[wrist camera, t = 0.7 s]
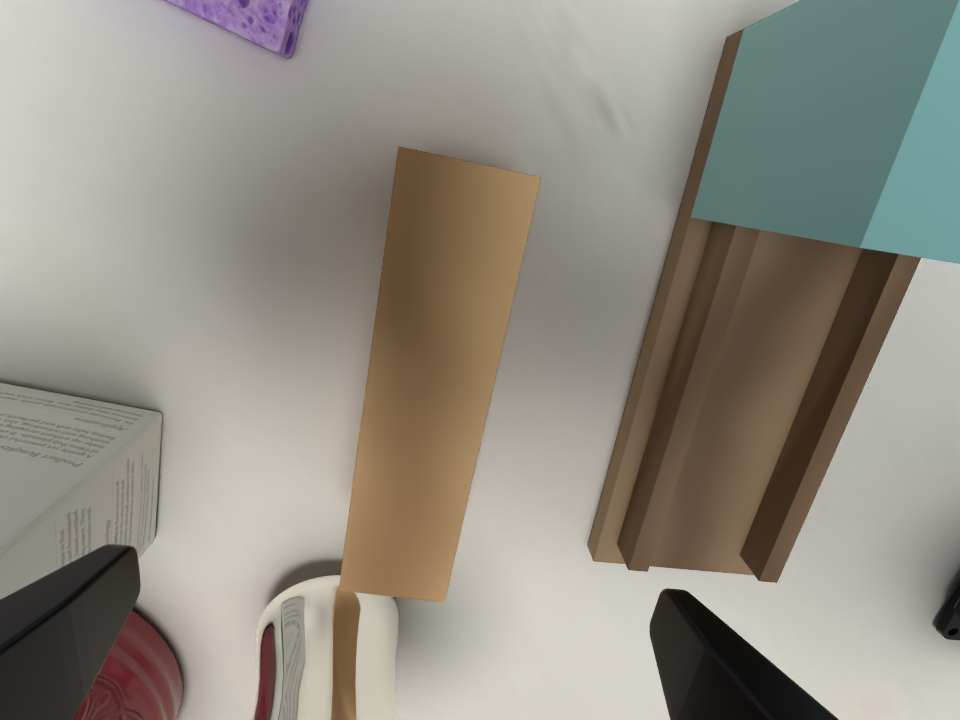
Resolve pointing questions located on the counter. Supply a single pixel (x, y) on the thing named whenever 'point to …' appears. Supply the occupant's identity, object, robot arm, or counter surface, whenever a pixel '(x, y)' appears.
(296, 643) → the silver tall cylinder
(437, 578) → the wooden block
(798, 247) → the board
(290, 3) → the sponges
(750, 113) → the end cap
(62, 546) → the skincare box
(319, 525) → the counter surface
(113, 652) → the canister
